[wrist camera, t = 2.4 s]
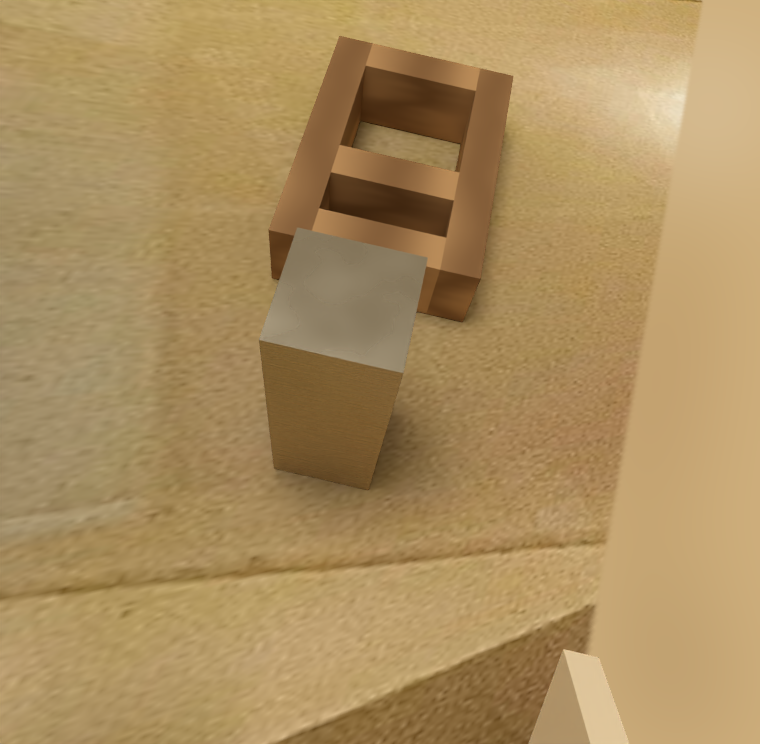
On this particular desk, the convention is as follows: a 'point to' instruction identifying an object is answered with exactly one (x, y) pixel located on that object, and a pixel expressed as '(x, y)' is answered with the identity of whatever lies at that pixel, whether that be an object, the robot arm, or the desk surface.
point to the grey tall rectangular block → (337, 353)
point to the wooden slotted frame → (400, 166)
